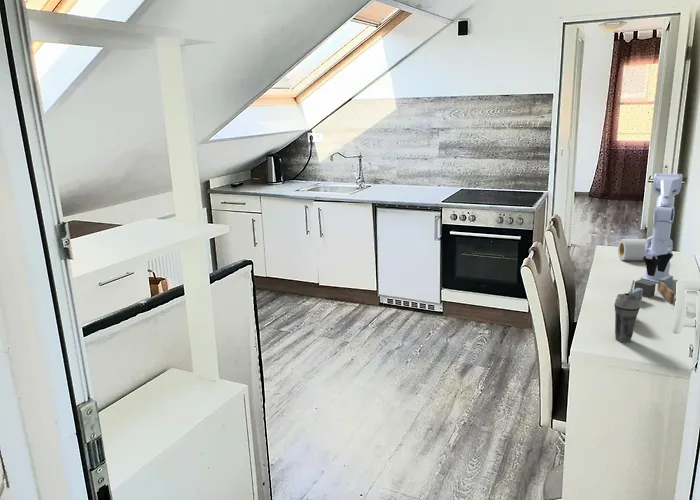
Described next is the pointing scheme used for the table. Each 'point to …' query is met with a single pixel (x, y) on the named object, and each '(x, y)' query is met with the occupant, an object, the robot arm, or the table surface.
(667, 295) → the door
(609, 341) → the table surface
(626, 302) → the beverage cup
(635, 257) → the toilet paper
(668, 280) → the wall frame
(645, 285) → the grey rectangular prism
